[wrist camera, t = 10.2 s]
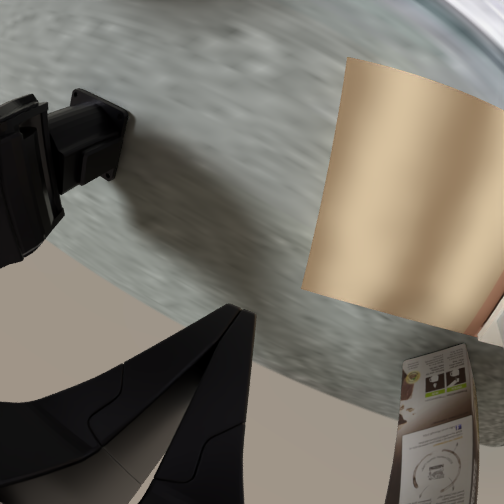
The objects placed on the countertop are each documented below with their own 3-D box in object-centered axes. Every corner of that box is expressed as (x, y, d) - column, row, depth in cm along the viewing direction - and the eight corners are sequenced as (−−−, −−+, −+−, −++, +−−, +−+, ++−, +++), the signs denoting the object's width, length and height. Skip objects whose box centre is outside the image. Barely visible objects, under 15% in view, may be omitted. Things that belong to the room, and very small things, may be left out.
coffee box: (399, 360, 25) (371, 539, 12) (466, 340, 21) (468, 530, 9) (422, 407, 27) (402, 547, 15) (477, 392, 24) (472, 539, 11)
